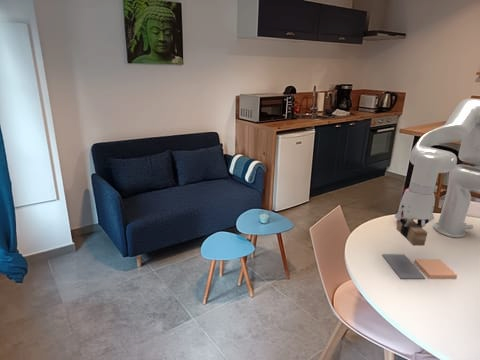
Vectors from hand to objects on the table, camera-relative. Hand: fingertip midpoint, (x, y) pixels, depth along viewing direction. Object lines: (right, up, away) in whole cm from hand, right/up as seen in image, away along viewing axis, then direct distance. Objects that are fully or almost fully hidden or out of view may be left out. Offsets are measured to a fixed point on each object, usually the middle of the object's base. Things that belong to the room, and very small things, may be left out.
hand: (410, 234), depth 119 cm
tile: (+11, -12, +8) cm, 18 cm away
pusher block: (0, -1, 0) cm, 1 cm away
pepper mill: (+16, -2, +38) cm, 41 cm away
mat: (0, -13, +5) cm, 14 cm away
